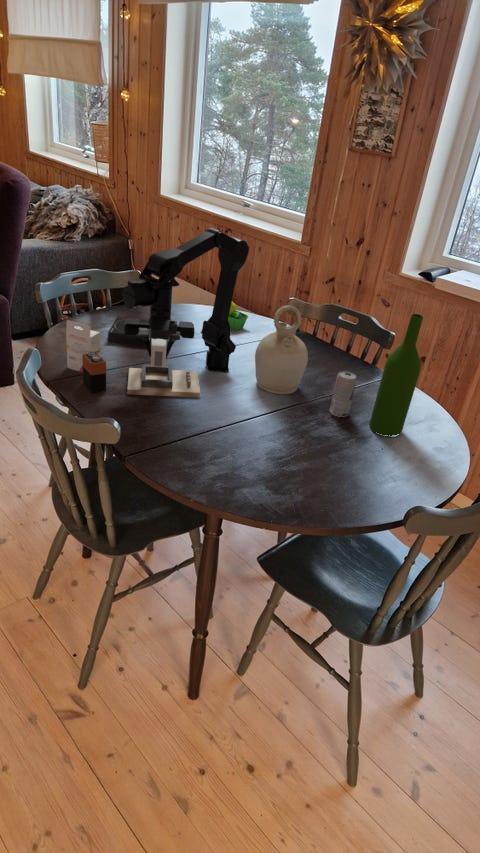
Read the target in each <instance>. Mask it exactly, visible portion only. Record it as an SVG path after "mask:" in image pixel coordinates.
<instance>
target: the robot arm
mask: <svg viewBox="0 0 480 853" xmlns="http://www.w3.org/2000/svg"><path fill="white" fill-rule="evenodd" d="M215 248H217V249H218V251H217V252H218V253H217V254H218V255H217V258H218V262H219V265H220V271H219V272H220V273H219V278H218V282H217V283H218V284H217V288H216V291H215V292H216V293H215V297H214V298H215V299H214V301H213V302H214V303H213V307H212V313H211V316H210V317H209V318H208V319H207V320H203V322H202V329H201V330H200V334H201V338H202V339H203V342H204V345H205V346H206V347H208V350H207V351H206V354H205V355H206V357H205V365H206V366H205V367H207V370H208V371H209V372H229V371H230V369H229V363H230V362H229V361H230V355H231V354H233V353H235V351H236V348H237V345H236V344H235V342H234V341H232V339H231V335H232V334H231V333H232V332H231V331H232V330H231V328H230V325H229V321H228V317H229V312H230V307H231V302H233V297H234V292H235V288H236V287H235V286H236V282H237V279H238V278H237V277H238V273H239V271H240V270H241V269H242V268H243V267H244V265H245V264H246V261H247V258H248V256H249V253H250V246H249V244H248V243H247V241H246V240H243V239H242V238H241V239H240V238H237V237H236V236H232V235H228V234H226V233H224V232H223V231H222V230H220V229H216V228H214V227H210V228H209V227H208V228H207V229H205V231H204V232H203V233H200V234H199V235H197V236H195V237H193V238H191V239H189V240H188V241H187V242H185V243H183V244H180V245H179V246H177V247H176V248H172V249H162V250H160V251H157V252H154V253H152V254H151V255H149V257H148V260H147V263H146V265H145V266H144V267H143V269H142V271H141V272H140V274H139V276H138V279H139V280H128V281H127V285H126V286H125V287H124V288H123V291H122V293H121V294H122V300H123V303H124V305H125V307H126V308H127V309H129V310H133V309H139V308H145V307H149V314H148V315H149V316H148V319H149V324H148V323H140V319H136V318H137V317H135V318H127V319H126V320H125V324H124V334H126V335H137V334H138V337H139V338H142V339H143V340H144V342H145V344H146V347H145V348H146V349H147V350H146V351H147V352H148V356H149V358H151V341H150V331H151V338H152V339H163V340H166V359H167V358H168V357H169V354H170V352H171V349H172V346H173V345H174V343H175V342H177V341H180V340H181V338H182V339H195V324H194V322H192V321H180V320H179V321H177V320H173V319H171V318H172V300H173V299H172V298H173V288H175V287H178V286H180V283H179V281H177V280H176V277H177V276H178V275H180V274H181V273H182V272H183V269H184V267H185V266H187V264H189V263H191V262H193V261H195V260H197V259H198V258H199V257H201V256H203V255H205V254H207V253H209V252H210V251H212V250H213V249H215ZM152 275H153V276H152ZM154 276H155V277H154ZM178 322H179V323H178ZM178 324H179V325H178Z"/></svg>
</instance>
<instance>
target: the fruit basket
mask: <svg viewBox="0 0 480 853" xmlns="http://www.w3.org/2000/svg"><path fill="white" fill-rule="evenodd" d="M236 308H237V305H236V303H234V301H232V302H231V307H230V312H229V317H228V321H229V325H230V328H231V331H236V330H240V329H243V328H244V326H245V324H246V323H247V319H248V318H249V315H248V314H246V313H243V312H242V311H239V310H237V309H236Z"/></svg>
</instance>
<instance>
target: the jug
mask: <svg viewBox="0 0 480 853" xmlns="http://www.w3.org/2000/svg"><path fill="white" fill-rule="evenodd" d="M286 312H292V313H293V314H294V316H295V322H294V323H293V324H292V325H290V326H288V323H287V322H284V321H282V322H280V318H281V316H282V315H283V314H284V313H286ZM301 315H302V314H301V313H300V311H299V309H298V308H296V307H295V306H294V305H290V304H287V305H283V306H281V307H280V308H278V309H277V311H276V312H275V314H274V317H273V323H274V324H273V325H274V327H275V329H276V330H275V331H274V332H272V333H269V334H267V335H265V336H264V337H263V338H262V339H260V341H259V343H258V345H257V346H256V349H255V352H254V354H255V355H254V364H255V378H256V383H257V386H258V387H259V388H260V389H261V390H263V391H265V392H267V393H270V394H274V395H282V396H283V395H289V394H294V393H295V392H296V391H297V390H298V386H299V385H300V383H301V381H302V378H303V376H304V373H305V370H306V369H307V365H308V360H309V359H308V357H309V356H308V349H307V346H306V345H305V343H304V342H303V341H302V339H301V338H299V337H298V336H297V335H296V334H294V332H295V331H297V330H298V329H299V327H300V325H301V322H302V316H301Z"/></svg>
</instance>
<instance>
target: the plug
mask: <svg viewBox="0 0 480 853" xmlns="http://www.w3.org/2000/svg"><path fill="white" fill-rule="evenodd" d="M166 346H167V340H163V339H152V342H151V357H150V365H151V366H155V367H165V366H167V364H166V361H167V358H166Z"/></svg>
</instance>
